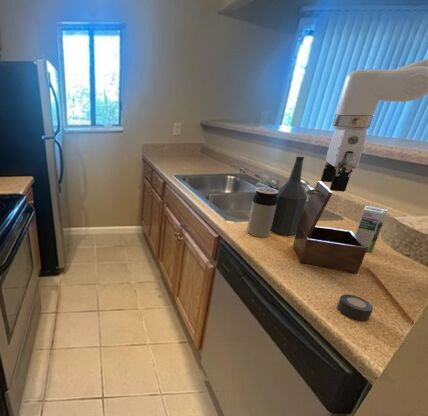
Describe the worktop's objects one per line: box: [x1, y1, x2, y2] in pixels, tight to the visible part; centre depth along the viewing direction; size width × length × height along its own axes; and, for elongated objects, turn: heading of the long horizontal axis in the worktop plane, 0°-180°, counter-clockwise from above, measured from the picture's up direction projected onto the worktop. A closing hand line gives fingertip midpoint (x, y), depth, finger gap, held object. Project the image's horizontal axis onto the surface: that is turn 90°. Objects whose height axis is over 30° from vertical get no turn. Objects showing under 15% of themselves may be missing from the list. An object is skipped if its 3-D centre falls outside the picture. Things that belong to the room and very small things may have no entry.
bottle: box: [270, 155, 308, 237], centre depth 105 cm, size 10×10×30 cm
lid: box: [298, 180, 334, 238], centre depth 87 cm, size 15×13×5 cm
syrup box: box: [354, 205, 389, 253], centre depth 95 cm, size 6×6×14 cm
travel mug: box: [246, 186, 279, 238], centre depth 105 cm, size 8×8×18 cm
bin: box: [292, 225, 367, 275], centre depth 89 cm, size 15×13×9 cm
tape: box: [336, 294, 374, 322], centre depth 67 cm, size 6×6×3 cm
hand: (331, 186), depth 77 cm, fingers open, 9 cm apart
